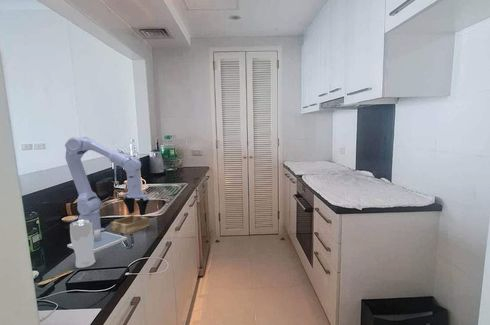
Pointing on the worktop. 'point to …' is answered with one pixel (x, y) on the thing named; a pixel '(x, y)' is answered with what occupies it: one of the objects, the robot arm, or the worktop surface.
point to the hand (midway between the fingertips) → (137, 213)
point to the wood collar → (130, 224)
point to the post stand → (104, 240)
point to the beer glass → (83, 242)
